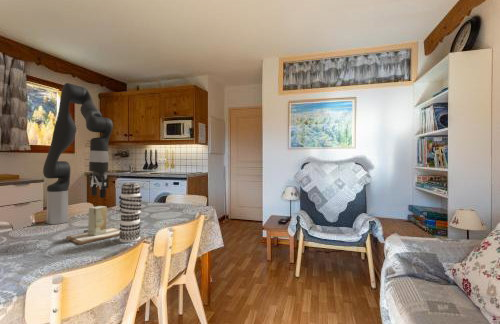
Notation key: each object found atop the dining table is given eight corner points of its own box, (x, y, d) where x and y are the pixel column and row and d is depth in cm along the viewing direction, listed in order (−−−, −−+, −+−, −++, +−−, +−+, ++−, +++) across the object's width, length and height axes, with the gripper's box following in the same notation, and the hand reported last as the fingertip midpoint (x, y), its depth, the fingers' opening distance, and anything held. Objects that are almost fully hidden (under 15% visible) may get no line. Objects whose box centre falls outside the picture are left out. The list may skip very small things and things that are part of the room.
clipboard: (66, 238, 112) (66, 233, 112) (112, 228, 128) (112, 224, 128) (79, 245, 104) (79, 240, 104) (127, 234, 120) (127, 229, 120)
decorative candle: (129, 243, 107) (130, 184, 106) (113, 240, 110) (114, 183, 110) (145, 237, 115) (146, 182, 115) (130, 235, 119) (131, 181, 118)
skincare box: (95, 236, 112) (95, 208, 112) (87, 235, 113) (87, 207, 113) (107, 232, 118) (107, 206, 118) (99, 231, 120) (100, 205, 119)
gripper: (83, 160, 116) (82, 195, 117) (97, 161, 108) (96, 199, 108) (100, 160, 122) (99, 194, 123) (115, 161, 114) (114, 197, 114)
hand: (98, 196), depth 115 cm, fingers open, 8 cm apart
